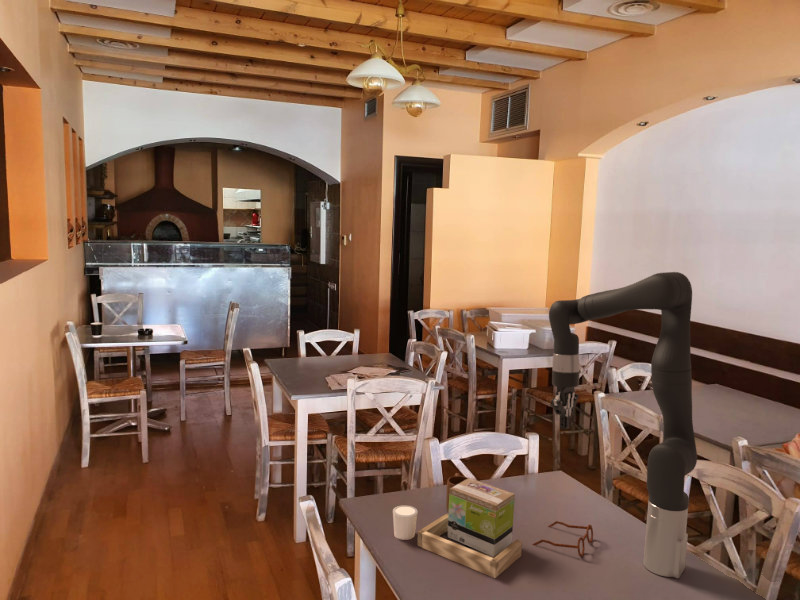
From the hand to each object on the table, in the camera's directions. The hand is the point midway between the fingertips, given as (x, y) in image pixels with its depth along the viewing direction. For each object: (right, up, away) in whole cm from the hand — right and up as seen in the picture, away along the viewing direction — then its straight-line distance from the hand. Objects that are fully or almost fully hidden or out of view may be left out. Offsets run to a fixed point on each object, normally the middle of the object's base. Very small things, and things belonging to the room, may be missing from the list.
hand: (564, 428), depth 183 cm
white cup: (-47, -28, -9) cm, 55 cm away
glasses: (-3, -30, -10) cm, 31 cm away
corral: (-30, -29, -17) cm, 45 cm away
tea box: (-26, -29, -12) cm, 40 cm away
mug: (-30, -26, +8) cm, 41 cm away
